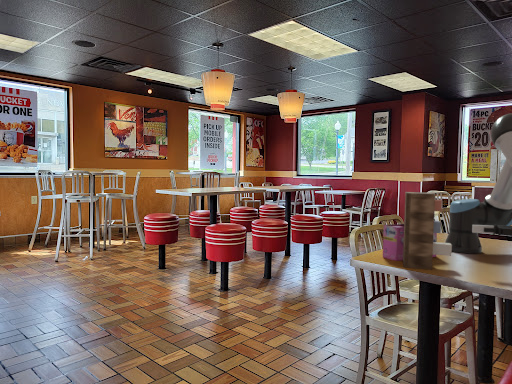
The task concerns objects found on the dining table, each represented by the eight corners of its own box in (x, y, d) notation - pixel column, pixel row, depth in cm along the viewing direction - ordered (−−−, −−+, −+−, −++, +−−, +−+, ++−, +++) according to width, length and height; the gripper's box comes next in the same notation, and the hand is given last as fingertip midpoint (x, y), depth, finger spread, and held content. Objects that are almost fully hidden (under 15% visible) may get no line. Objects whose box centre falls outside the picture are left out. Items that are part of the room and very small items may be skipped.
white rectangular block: (449, 253, 142) (450, 243, 142) (451, 255, 138) (451, 244, 138) (423, 251, 145) (423, 241, 145) (424, 253, 141) (424, 243, 141)
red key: (440, 210, 142) (440, 199, 142) (441, 211, 139) (441, 200, 138) (414, 209, 145) (414, 198, 145) (414, 210, 142) (415, 199, 141)
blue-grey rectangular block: (439, 231, 143) (439, 221, 143) (440, 233, 139) (441, 222, 139) (413, 230, 146) (413, 219, 145) (413, 231, 142) (414, 220, 142)
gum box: (423, 253, 168) (425, 222, 167) (439, 256, 161) (440, 224, 160) (381, 257, 158) (383, 224, 157) (396, 261, 151) (397, 227, 150)
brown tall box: (429, 263, 147) (432, 192, 146) (431, 269, 138) (435, 193, 136) (402, 261, 150) (405, 191, 149) (403, 267, 141) (406, 193, 139)
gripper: (558, 247, 123) (475, 241, 131) (543, 241, 136) (468, 236, 144) (559, 224, 123) (476, 220, 131) (544, 220, 135) (469, 216, 143)
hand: (472, 228), depth 137 cm, fingers closed
